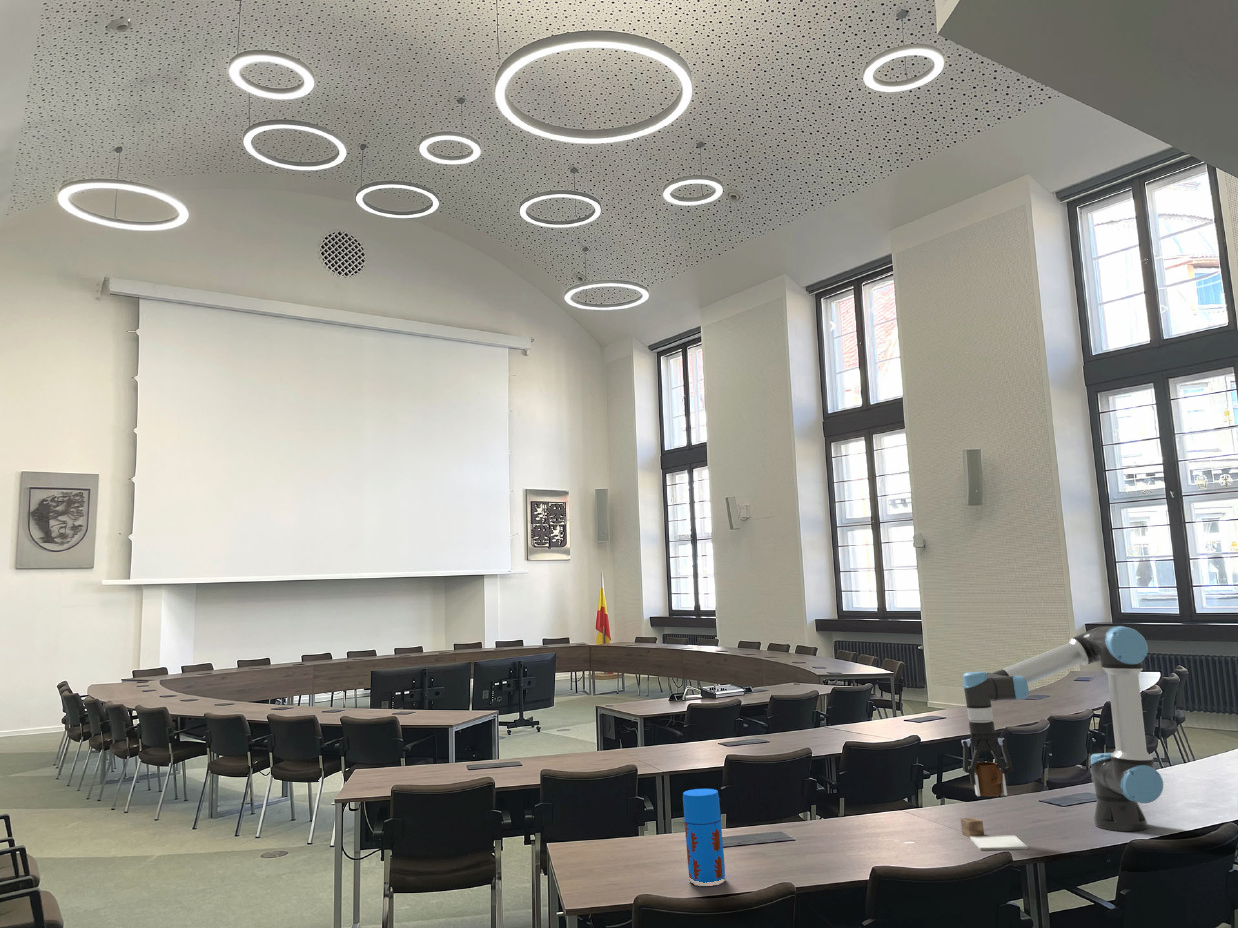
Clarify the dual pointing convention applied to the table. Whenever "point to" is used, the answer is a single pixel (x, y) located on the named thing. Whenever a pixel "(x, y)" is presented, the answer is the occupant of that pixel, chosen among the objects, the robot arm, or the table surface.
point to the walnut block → (972, 827)
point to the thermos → (703, 835)
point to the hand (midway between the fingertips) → (991, 794)
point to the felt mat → (998, 842)
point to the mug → (989, 778)
